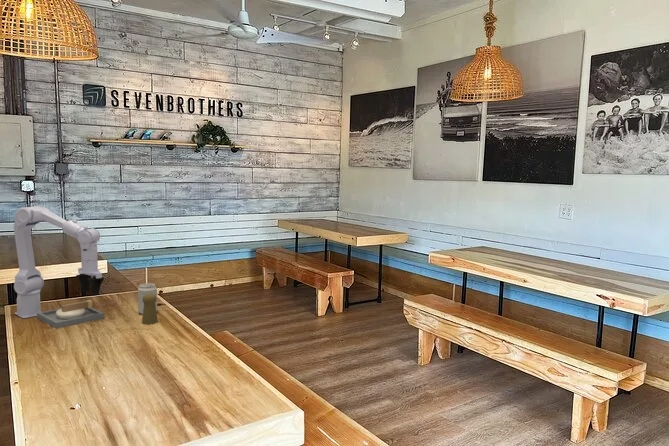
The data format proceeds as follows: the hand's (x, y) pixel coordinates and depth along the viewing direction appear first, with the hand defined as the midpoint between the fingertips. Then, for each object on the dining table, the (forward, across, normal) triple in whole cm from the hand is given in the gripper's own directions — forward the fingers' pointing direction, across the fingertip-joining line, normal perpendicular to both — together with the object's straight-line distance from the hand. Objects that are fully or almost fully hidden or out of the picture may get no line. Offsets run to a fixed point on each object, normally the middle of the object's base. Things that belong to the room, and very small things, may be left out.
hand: (90, 293), depth 198 cm
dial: (+9, -7, -3) cm, 12 cm away
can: (+11, +8, +20) cm, 24 cm away
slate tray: (+10, -7, -5) cm, 13 cm away
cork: (+11, +20, +13) cm, 26 cm away
